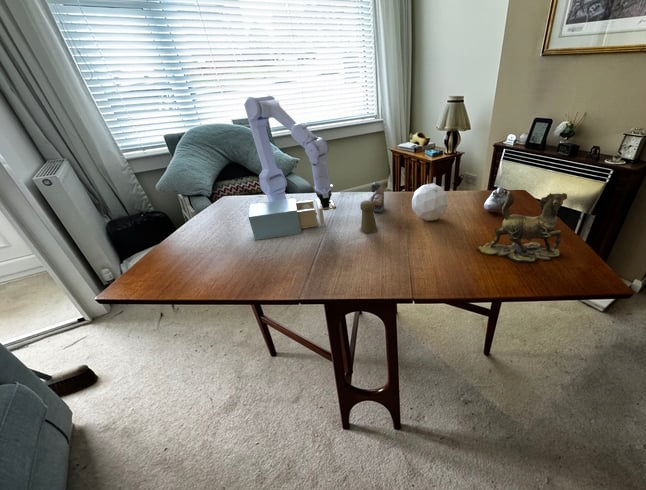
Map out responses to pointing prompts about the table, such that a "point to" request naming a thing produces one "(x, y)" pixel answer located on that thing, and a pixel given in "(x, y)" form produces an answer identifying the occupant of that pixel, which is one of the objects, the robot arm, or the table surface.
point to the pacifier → (306, 207)
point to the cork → (368, 217)
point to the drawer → (311, 213)
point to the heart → (496, 200)
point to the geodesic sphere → (429, 202)
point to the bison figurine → (377, 197)
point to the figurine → (528, 232)
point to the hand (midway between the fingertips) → (326, 209)
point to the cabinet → (274, 219)
